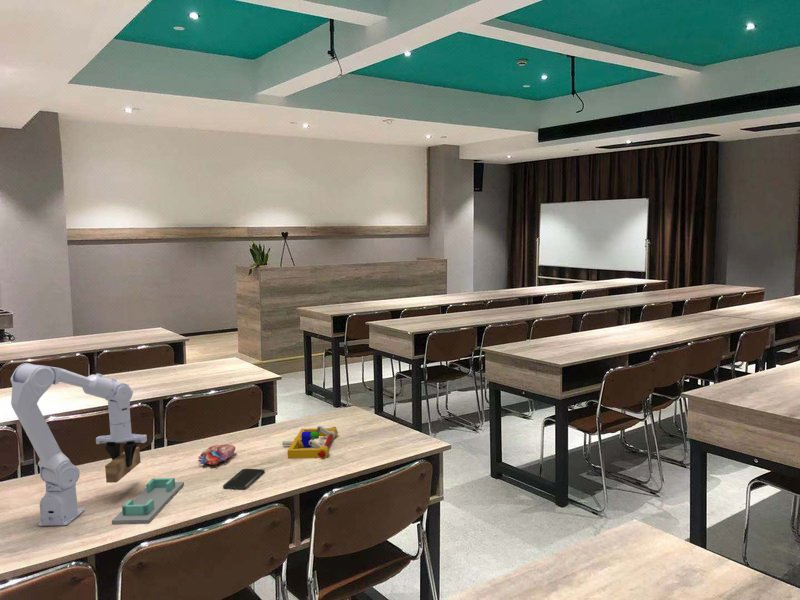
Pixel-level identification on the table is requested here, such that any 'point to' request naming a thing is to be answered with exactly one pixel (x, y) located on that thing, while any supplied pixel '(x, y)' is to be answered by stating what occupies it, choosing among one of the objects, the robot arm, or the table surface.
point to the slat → (121, 467)
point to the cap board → (148, 501)
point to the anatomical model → (216, 454)
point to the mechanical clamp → (310, 443)
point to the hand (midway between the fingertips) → (123, 466)
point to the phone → (244, 479)
